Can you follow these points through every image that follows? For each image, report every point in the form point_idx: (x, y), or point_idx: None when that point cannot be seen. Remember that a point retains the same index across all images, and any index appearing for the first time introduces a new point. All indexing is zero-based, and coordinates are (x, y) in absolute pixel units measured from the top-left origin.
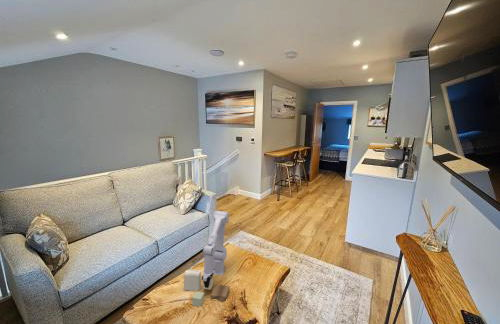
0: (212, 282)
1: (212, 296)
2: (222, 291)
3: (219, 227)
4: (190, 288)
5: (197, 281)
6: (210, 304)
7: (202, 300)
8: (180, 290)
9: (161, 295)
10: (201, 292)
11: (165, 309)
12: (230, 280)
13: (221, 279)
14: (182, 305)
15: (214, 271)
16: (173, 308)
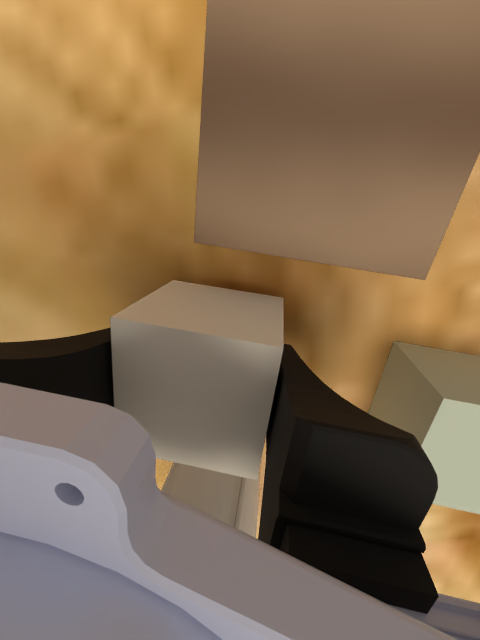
0: (198, 303)
1: (430, 249)
2: (373, 65)
3: None
4: (258, 495)
5: (246, 526)
6: (475, 255)
7: (466, 368)
8: (257, 533)
9: None
10: (433, 433)
11: (459, 593)
12: (8, 33)
13: (34, 188)
14: (436, 505)
15: (20, 464)
16: (459, 554)
